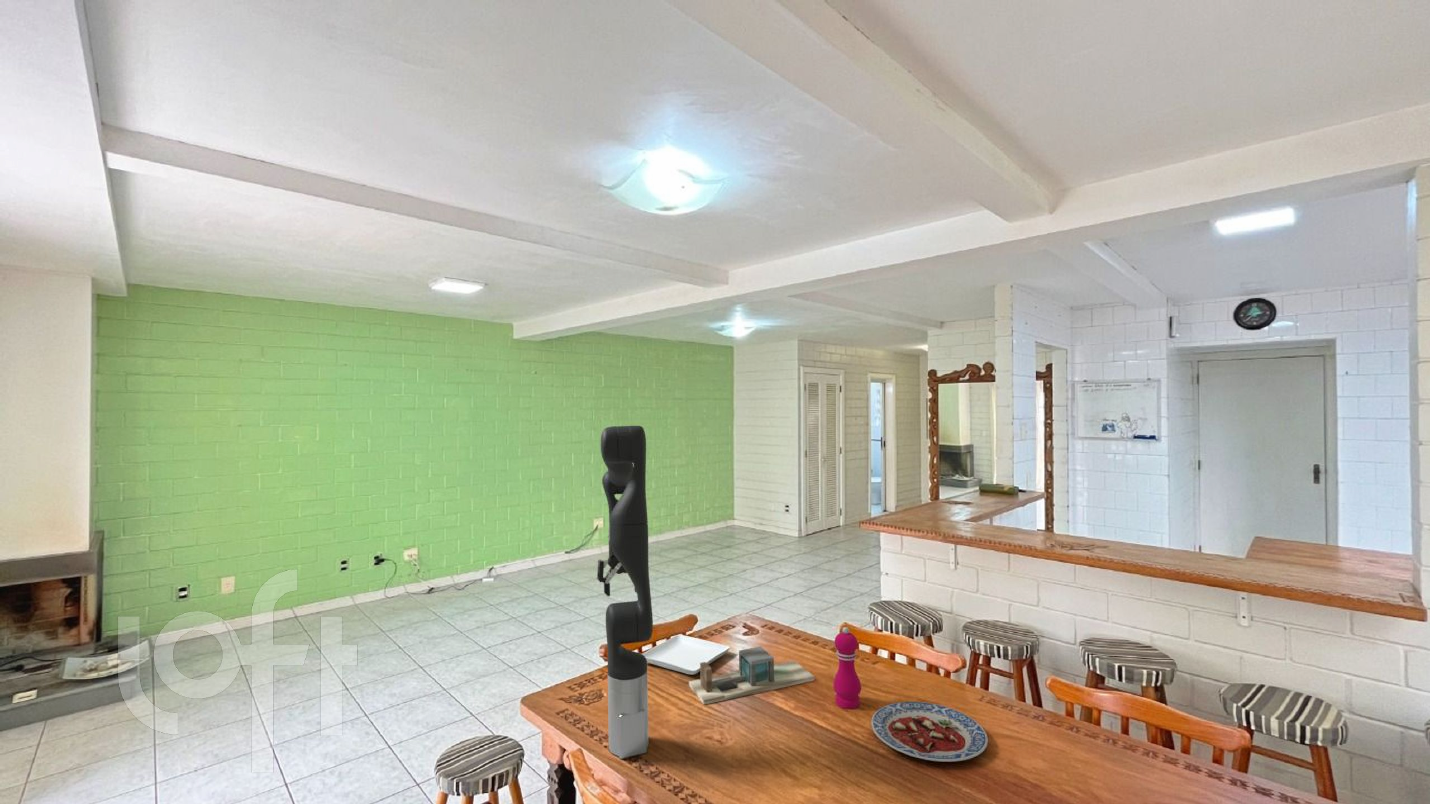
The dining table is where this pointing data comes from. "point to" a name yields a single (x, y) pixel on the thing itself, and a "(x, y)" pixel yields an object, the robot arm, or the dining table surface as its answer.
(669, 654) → the salad plate
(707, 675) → the sled
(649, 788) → the dining table surface
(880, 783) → the dining table surface
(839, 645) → the pepper mill
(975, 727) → the ceramic plate
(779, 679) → the deck tunnel
